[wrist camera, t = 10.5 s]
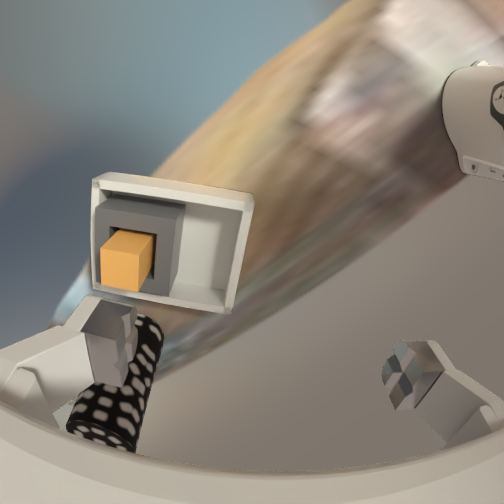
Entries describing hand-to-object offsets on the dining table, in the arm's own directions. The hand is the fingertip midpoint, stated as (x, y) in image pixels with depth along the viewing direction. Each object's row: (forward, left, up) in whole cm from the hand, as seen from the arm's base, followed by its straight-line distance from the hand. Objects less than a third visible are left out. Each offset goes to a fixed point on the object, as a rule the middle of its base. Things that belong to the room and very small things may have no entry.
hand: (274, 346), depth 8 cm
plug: (+11, +9, -25) cm, 28 cm away
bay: (+8, +9, -28) cm, 31 cm away
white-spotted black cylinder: (+12, +26, -29) cm, 40 cm away
